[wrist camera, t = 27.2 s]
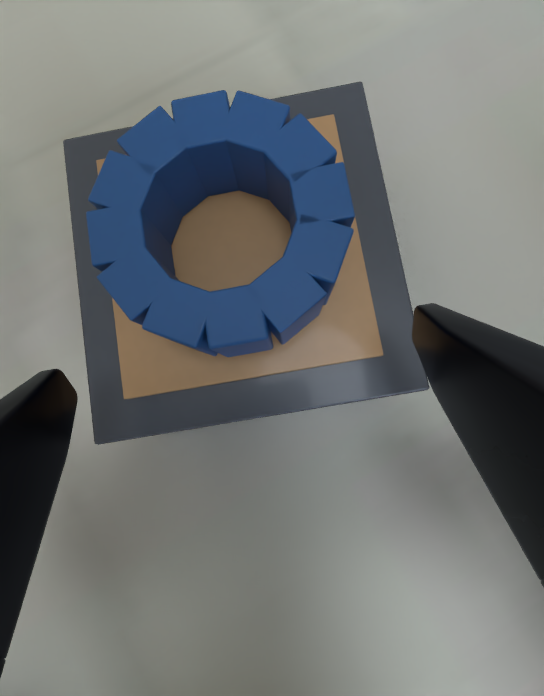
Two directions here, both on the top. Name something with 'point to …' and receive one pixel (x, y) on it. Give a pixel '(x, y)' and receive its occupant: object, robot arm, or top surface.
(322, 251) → the ring
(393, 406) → the top surface
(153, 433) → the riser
